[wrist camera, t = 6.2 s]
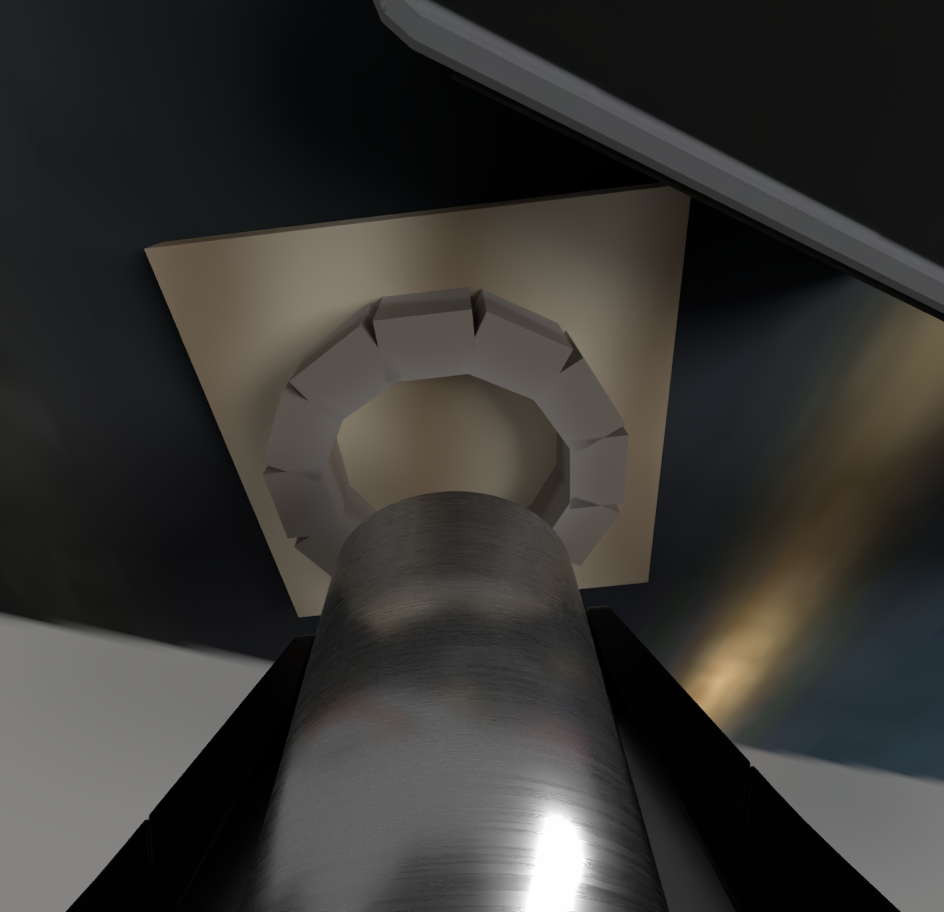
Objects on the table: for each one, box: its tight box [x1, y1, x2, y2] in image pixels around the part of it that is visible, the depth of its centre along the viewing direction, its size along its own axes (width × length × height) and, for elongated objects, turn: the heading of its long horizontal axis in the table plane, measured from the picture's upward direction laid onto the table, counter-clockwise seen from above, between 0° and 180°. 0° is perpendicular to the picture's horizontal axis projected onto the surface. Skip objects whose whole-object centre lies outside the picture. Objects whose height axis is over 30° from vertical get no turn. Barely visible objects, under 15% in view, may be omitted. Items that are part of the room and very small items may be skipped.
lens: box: [239, 491, 669, 912], centre depth 8 cm, size 5×5×7 cm
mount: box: [144, 182, 691, 617], centre depth 15 cm, size 13×13×3 cm
